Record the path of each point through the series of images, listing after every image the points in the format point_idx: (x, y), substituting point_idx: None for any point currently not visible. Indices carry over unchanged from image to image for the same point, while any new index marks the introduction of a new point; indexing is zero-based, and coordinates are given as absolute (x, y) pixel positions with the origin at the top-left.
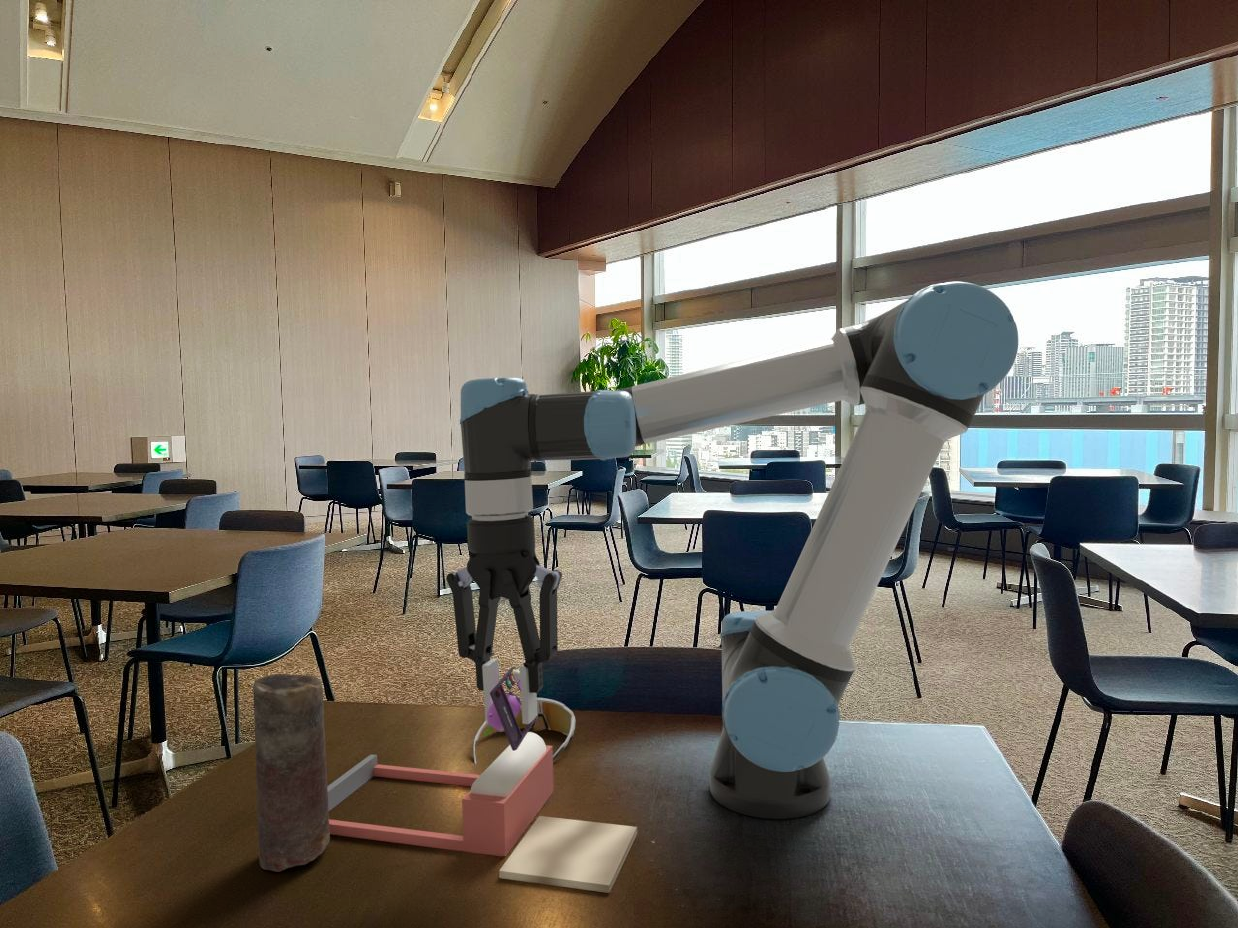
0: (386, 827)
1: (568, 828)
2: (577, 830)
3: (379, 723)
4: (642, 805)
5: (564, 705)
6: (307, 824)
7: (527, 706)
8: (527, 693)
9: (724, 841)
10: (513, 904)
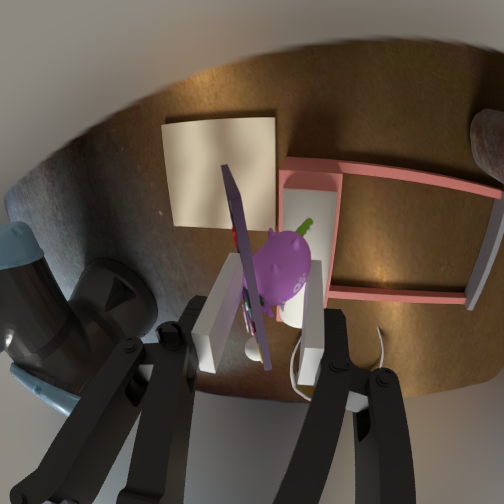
0: (431, 182)
1: None
2: (224, 209)
3: (462, 367)
4: (191, 270)
5: (304, 397)
6: (494, 123)
7: (221, 271)
8: (212, 289)
9: (116, 224)
10: (242, 80)
